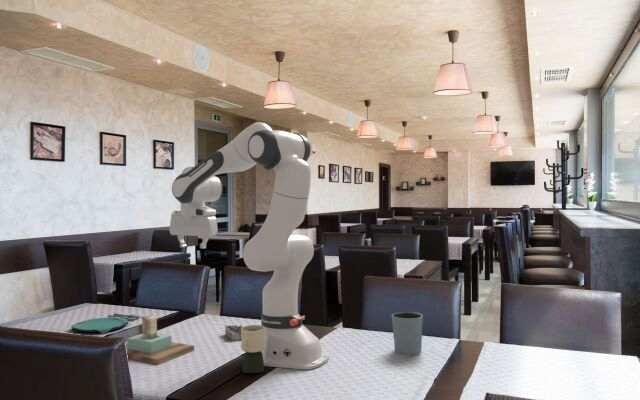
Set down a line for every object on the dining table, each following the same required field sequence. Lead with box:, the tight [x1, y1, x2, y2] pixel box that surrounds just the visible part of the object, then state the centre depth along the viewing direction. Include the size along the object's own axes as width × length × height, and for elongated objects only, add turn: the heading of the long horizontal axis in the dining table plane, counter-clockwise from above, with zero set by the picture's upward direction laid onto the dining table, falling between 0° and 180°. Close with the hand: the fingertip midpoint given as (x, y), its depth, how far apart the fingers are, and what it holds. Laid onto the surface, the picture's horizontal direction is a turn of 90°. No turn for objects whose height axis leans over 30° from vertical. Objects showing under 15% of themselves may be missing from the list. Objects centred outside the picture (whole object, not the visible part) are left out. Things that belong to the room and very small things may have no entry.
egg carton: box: [224, 324, 243, 341], centre depth 190 cm, size 11×8×4 cm
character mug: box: [240, 324, 265, 375], centre depth 151 cm, size 11×7×13 cm, turn 157°
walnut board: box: [124, 341, 195, 365], centre depth 172 cm, size 24×16×2 cm, turn 63°
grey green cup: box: [391, 311, 424, 356], centre depth 171 cm, size 10×10×12 cm
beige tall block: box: [141, 315, 158, 339], centre depth 171 cm, size 4×2×10 cm, turn 63°
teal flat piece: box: [71, 312, 143, 335], centre depth 208 cm, size 20×30×2 cm, turn 165°
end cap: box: [126, 332, 172, 353], centre depth 172 cm, size 10×9×4 cm
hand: (193, 247), depth 193 cm, fingers open, 8 cm apart
